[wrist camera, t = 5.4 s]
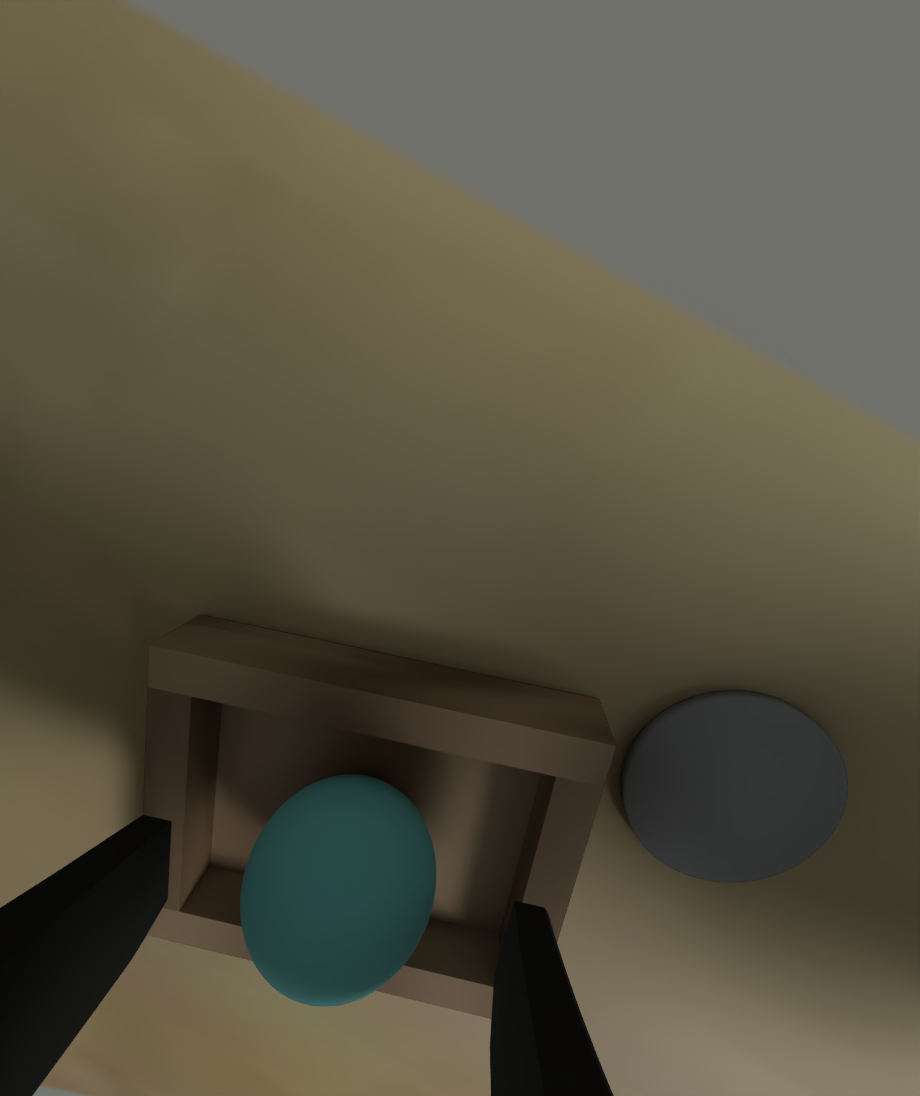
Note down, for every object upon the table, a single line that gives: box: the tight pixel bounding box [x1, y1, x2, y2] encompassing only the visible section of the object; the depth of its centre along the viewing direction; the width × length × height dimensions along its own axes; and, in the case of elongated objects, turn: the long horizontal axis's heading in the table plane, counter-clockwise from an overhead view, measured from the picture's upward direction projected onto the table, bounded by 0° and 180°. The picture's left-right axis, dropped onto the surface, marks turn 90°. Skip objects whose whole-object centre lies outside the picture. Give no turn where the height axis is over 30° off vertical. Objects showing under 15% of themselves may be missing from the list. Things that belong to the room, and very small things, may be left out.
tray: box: [143, 615, 616, 1019], centre depth 12 cm, size 10×8×2 cm
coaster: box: [621, 690, 848, 882], centre depth 12 cm, size 5×5×1 cm
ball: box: [240, 774, 436, 1006], centre depth 10 cm, size 4×4×4 cm
